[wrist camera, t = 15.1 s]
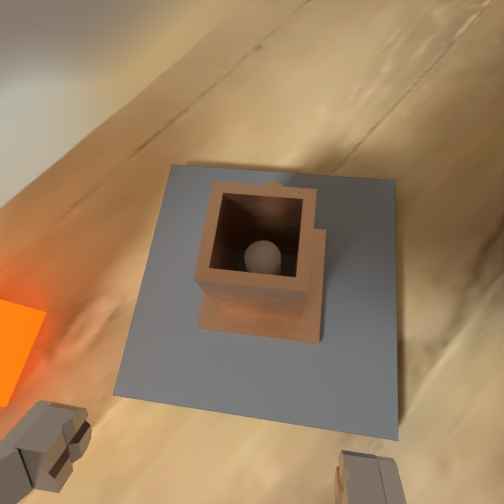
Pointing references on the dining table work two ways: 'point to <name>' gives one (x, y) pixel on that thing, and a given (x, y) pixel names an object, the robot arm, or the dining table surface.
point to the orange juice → (15, 343)
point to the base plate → (268, 349)
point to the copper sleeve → (254, 284)
